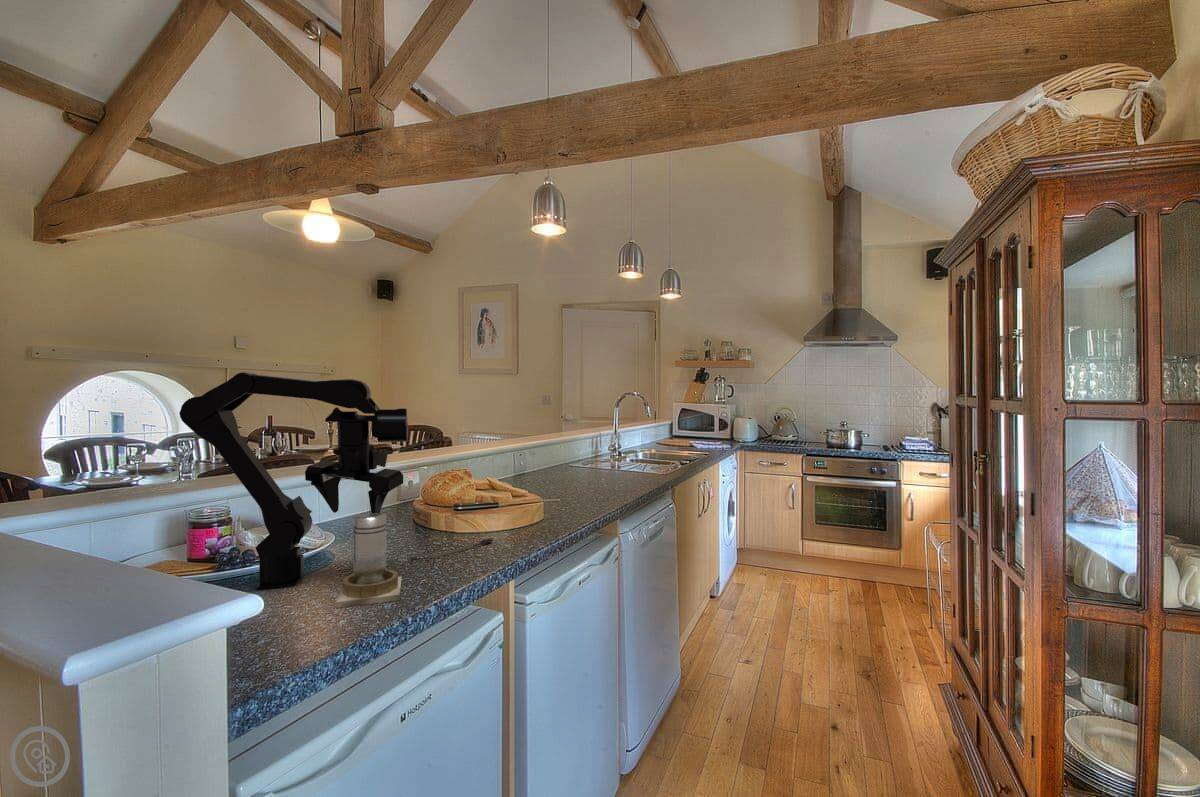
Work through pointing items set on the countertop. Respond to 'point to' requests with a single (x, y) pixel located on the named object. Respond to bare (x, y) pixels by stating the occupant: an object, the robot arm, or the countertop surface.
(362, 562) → the salt shaker
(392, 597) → the ring collar
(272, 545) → the robot arm
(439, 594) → the countertop surface
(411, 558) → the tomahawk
